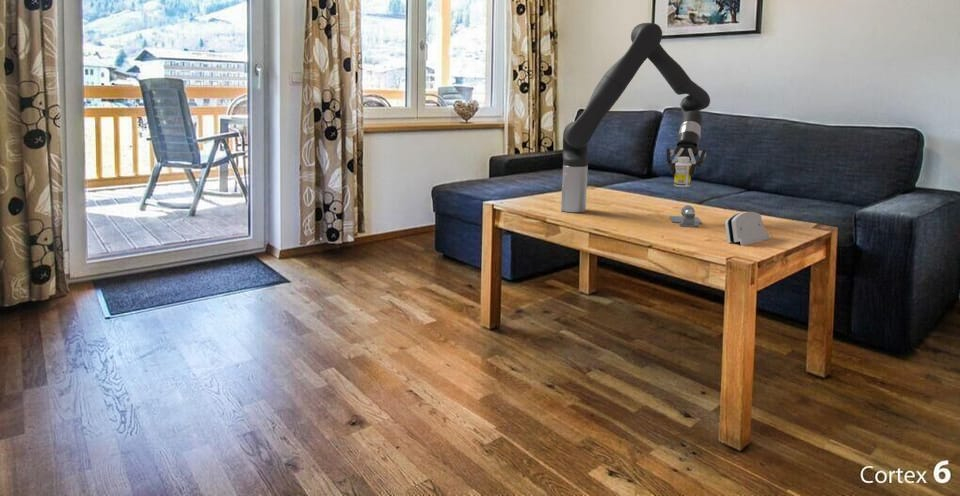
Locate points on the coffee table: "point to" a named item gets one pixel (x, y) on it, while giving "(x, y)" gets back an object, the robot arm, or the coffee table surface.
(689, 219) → the shaft stub
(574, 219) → the coffee table surface
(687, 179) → the supplement bottle
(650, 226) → the coffee table surface
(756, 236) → the grey rounded slab
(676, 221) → the plate
